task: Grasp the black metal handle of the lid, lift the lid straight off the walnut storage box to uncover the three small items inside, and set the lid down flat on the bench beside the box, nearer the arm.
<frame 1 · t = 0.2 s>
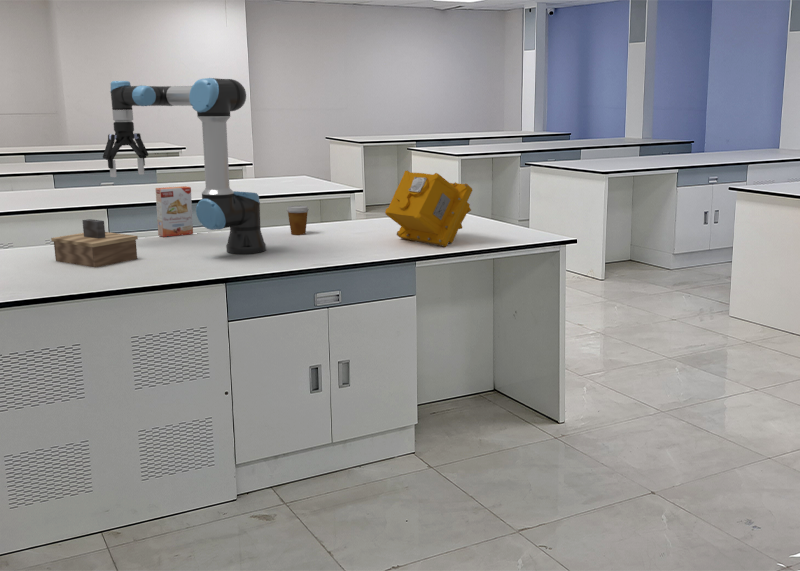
hand: (127, 175, 311), 28 cm above the table, fingers open, 13 cm apart
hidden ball: (98, 256, 287), point 1 cm above the table, touching storage box
disposable coffee cup: (298, 234, 343), on the table
storage box: (96, 262, 282), on the table
cracker box: (176, 235, 340), on the table
lid: (95, 243, 281), point 7 cm above the table, touching storage box
control box: (429, 242, 323), on the table
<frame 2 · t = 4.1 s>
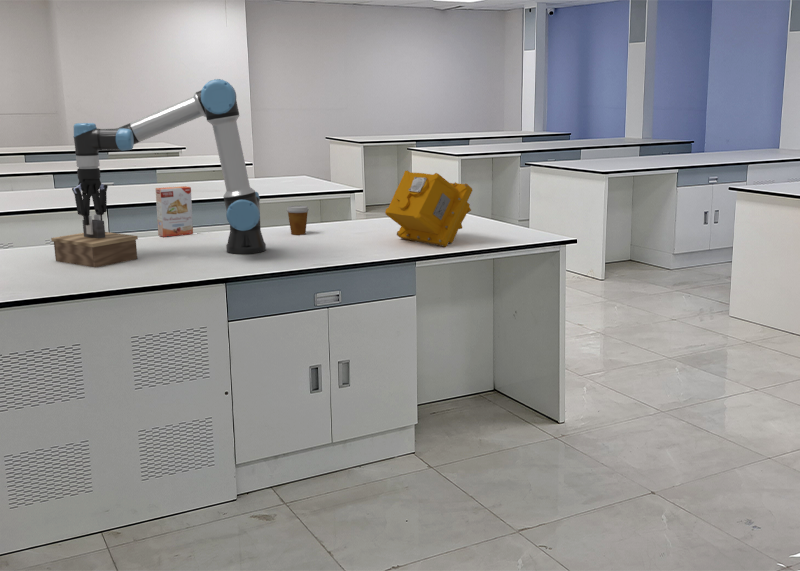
hand: (94, 233, 280), 11 cm above the table, fingers closed on lid, 3 cm apart
lid: (95, 243, 281), point 7 cm above the table, touching gripper, storage box
everything else where it was.
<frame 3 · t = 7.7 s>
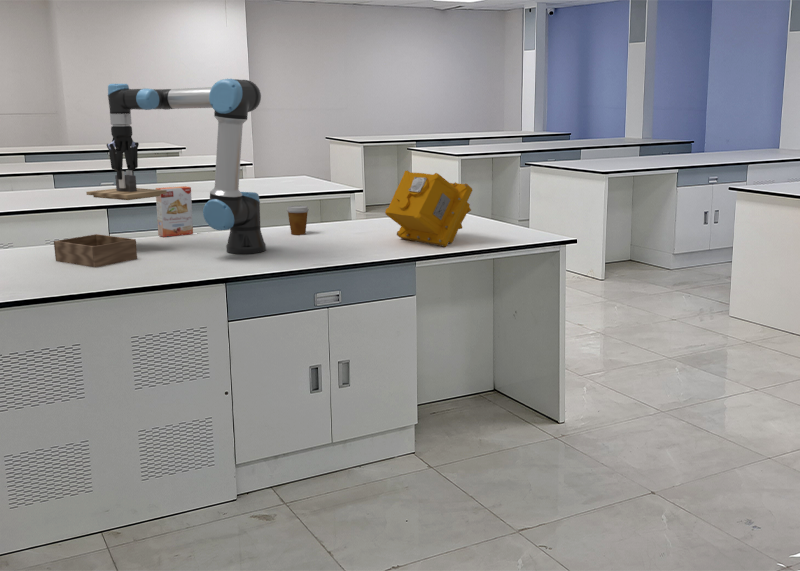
hand: (126, 187, 300), 24 cm above the table, fingers closed on lid, 3 cm apart
lid: (127, 196, 301), point 21 cm above the table, touching gripper
everything else where it was.
when the fingers open (6 cm above the table, at t = 11.5 s): lid drops 2 cm, on the table.
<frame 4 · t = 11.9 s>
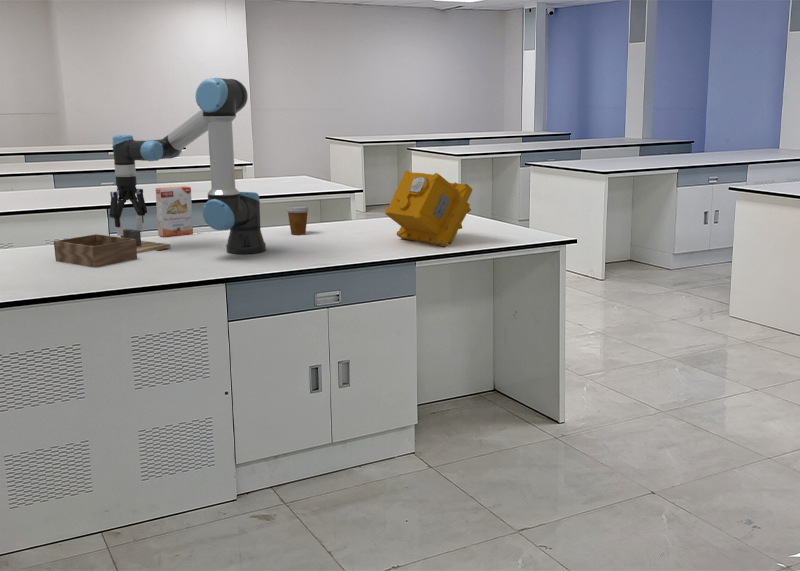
hand: (130, 233, 304), 6 cm above the table, fingers open, 9 cm apart
lid: (131, 250, 306), on the table
everything else where it was.
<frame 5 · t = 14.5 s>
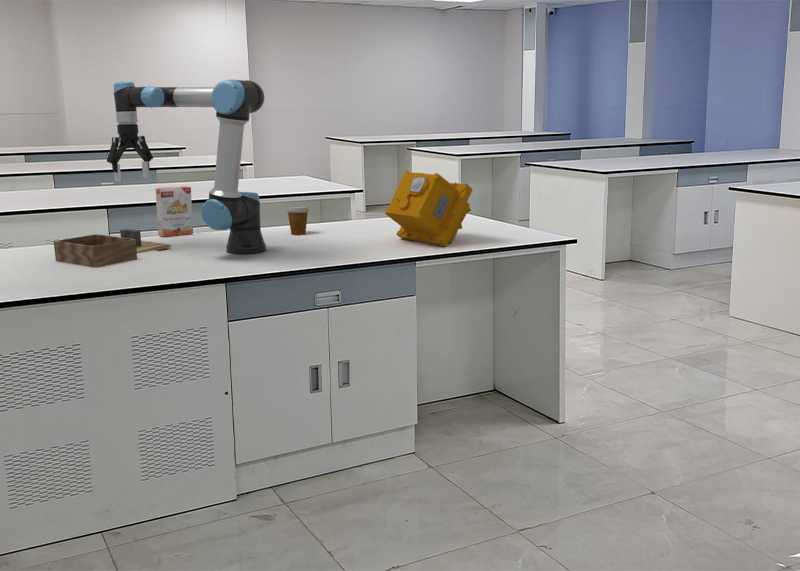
hand: (132, 179, 301), 27 cm above the table, fingers open, 13 cm apart
nothing on the table moved.
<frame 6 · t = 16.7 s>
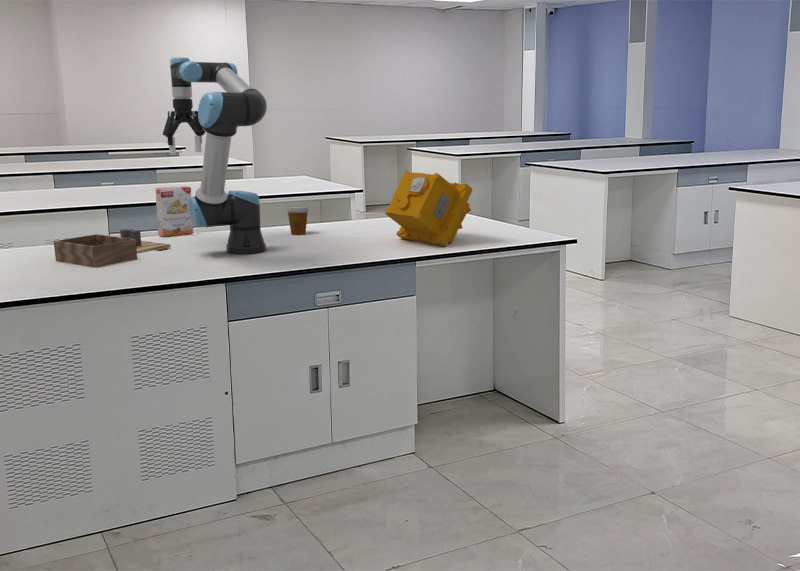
hand: (185, 153, 311), 37 cm above the table, fingers open, 13 cm apart
nothing on the table moved.
at the end: lid inside the target area (0.0 cm from its centre), on the table; lid tilted 0°; the gripper is holding nothing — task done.
